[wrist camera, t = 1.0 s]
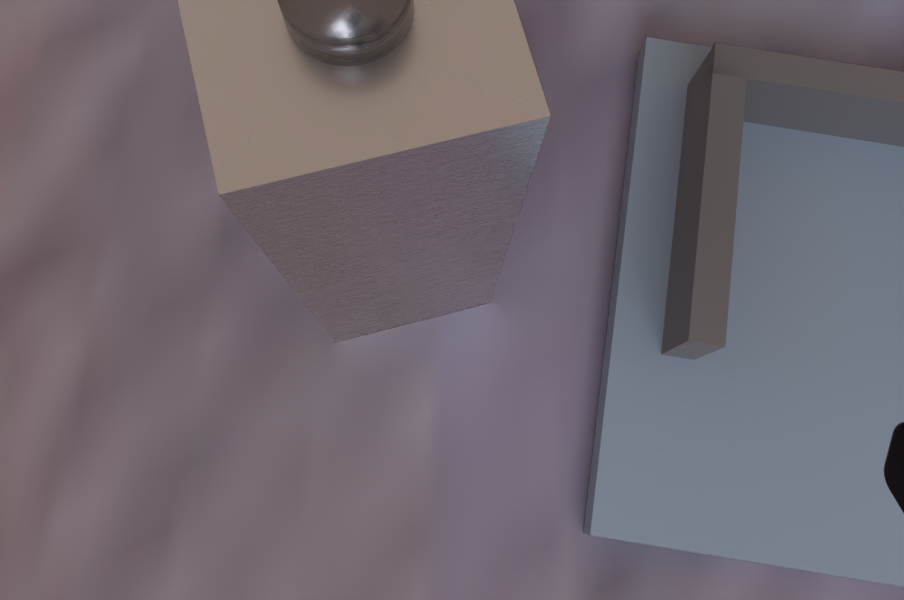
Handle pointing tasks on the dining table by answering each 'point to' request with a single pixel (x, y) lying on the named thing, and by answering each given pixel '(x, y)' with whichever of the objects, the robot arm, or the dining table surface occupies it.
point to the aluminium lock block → (371, 145)
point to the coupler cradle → (756, 314)
